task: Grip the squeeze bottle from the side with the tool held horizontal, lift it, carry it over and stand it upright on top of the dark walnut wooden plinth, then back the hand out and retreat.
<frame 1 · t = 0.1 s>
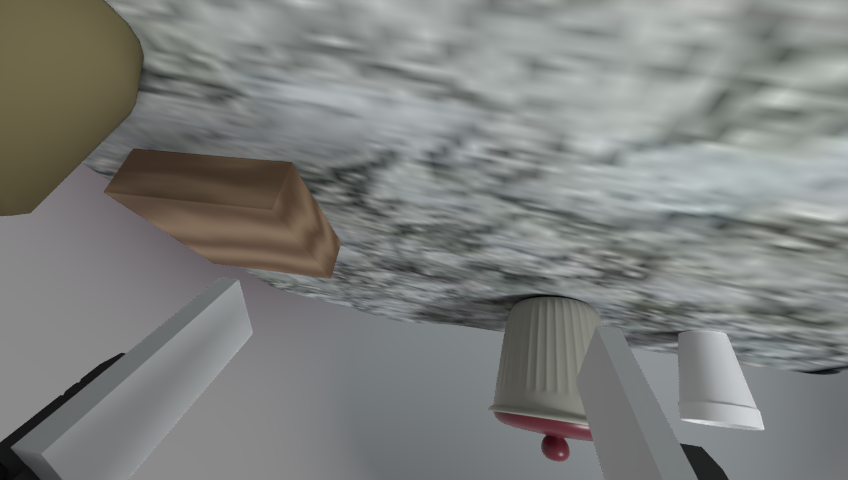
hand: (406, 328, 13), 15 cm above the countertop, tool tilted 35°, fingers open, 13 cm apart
canister: (552, 304, 54), on the countertop
foam cup: (701, 333, 56), on the countertop
squeeze bottle: (89, 19, 21), on the countertop
walnut plinth: (254, 203, 38), on the countertop
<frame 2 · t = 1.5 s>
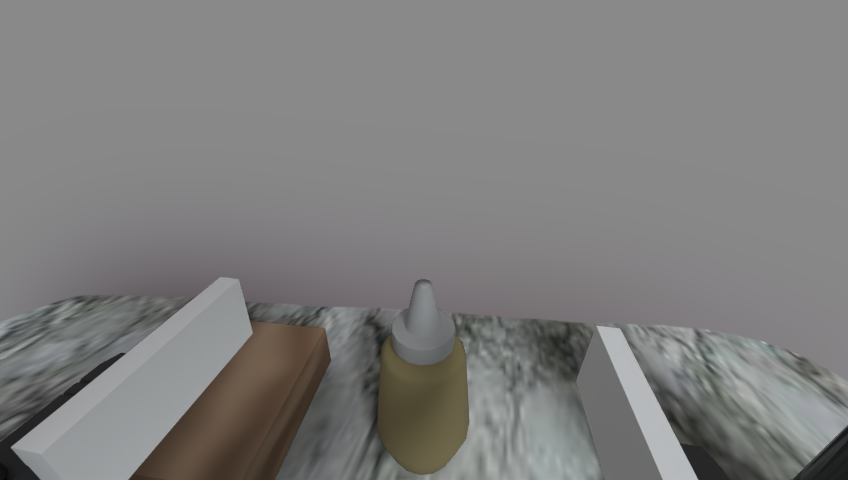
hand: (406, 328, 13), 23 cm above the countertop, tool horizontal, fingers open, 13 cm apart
squeeze bottle: (422, 443, 32), on the countertop
walnut plinth: (224, 414, 34), on the countertop
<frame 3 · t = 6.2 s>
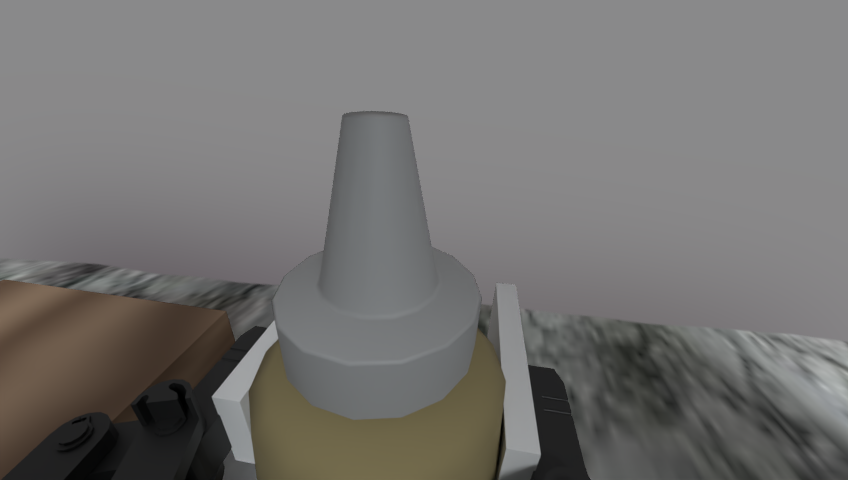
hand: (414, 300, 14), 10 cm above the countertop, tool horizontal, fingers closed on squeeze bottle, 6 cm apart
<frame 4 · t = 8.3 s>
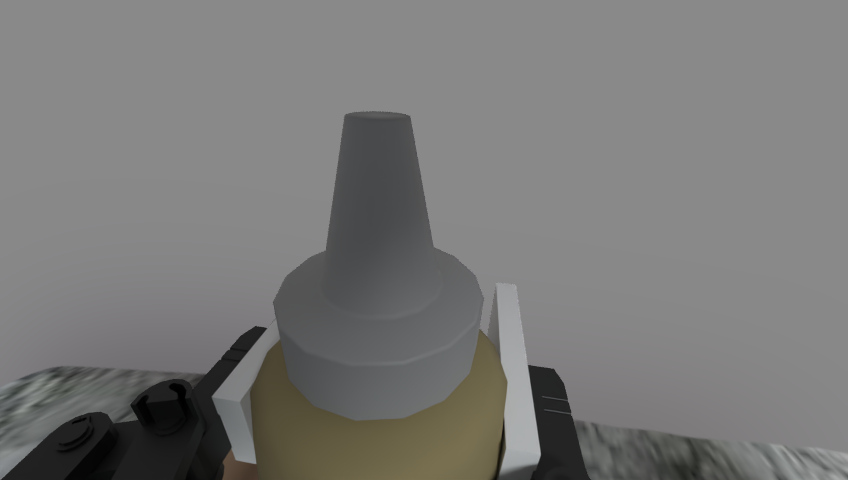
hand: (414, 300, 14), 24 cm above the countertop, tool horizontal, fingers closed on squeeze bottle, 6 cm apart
when the fingers open (16 cm above the countertop, at t = 10.9 s): squeeze bottle drops 1 cm, resting on walnut plinth.
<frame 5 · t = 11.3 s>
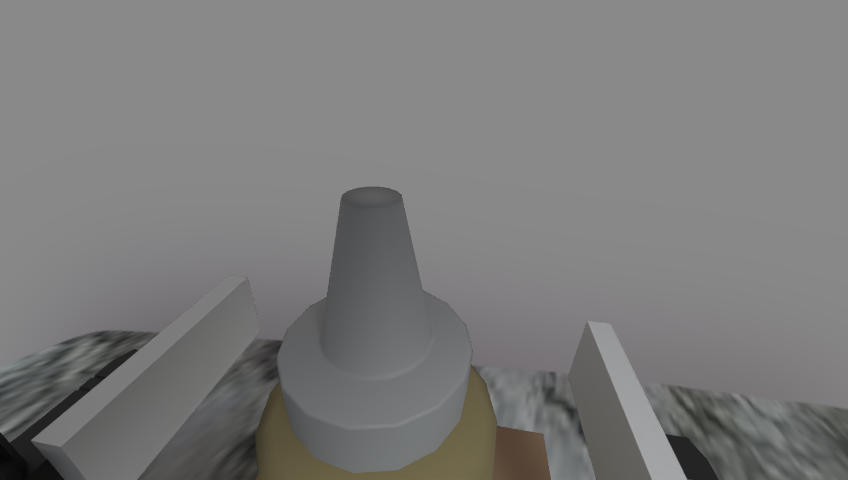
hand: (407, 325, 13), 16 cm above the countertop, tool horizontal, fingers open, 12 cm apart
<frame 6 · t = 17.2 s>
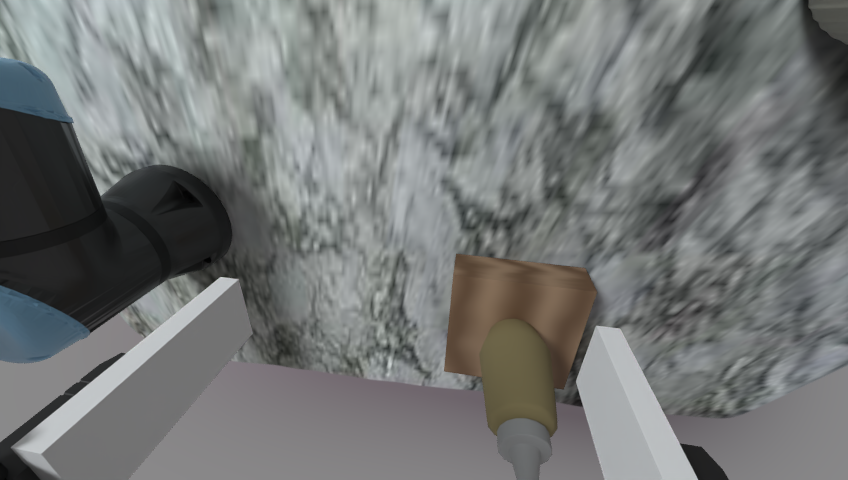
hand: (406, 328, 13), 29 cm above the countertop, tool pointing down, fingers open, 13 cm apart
squeeze bottle: (512, 334, 42), point 5 cm above the countertop, touching walnut plinth
walnut plinth: (509, 310, 47), on the countertop
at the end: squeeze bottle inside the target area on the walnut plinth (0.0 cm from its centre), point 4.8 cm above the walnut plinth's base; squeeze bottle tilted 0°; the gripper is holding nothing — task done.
